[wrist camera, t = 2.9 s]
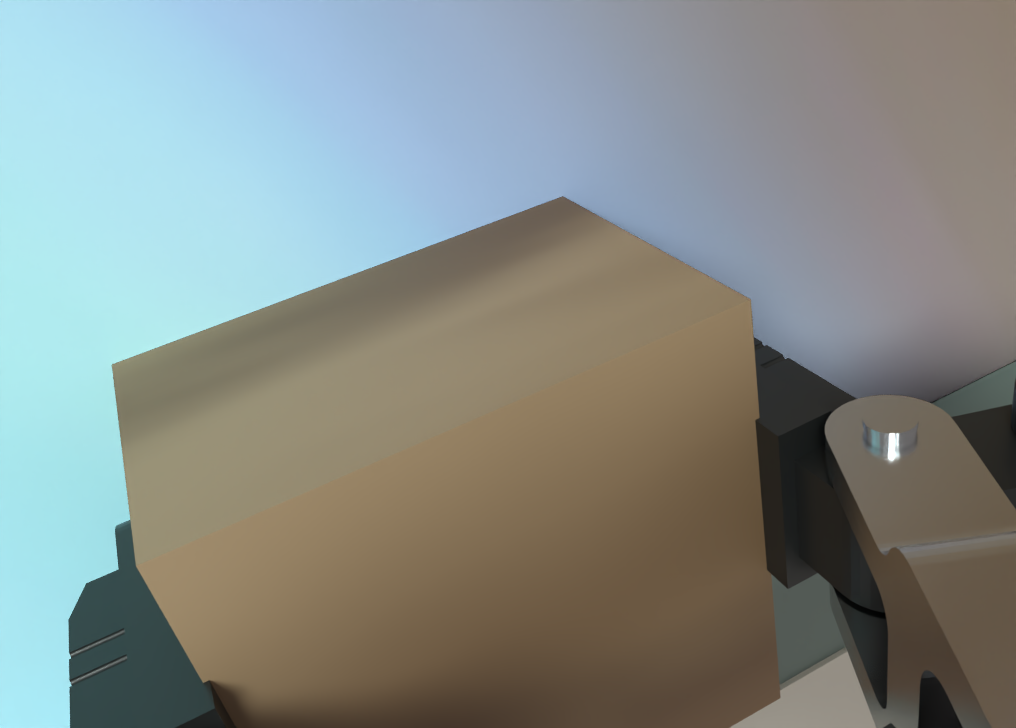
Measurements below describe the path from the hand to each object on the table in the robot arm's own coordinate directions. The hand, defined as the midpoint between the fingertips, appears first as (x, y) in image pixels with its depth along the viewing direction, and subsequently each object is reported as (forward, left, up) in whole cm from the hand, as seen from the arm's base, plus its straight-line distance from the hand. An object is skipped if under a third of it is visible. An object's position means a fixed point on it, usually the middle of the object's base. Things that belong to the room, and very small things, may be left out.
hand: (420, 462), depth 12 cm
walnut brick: (0, 0, -1) cm, 1 cm away
